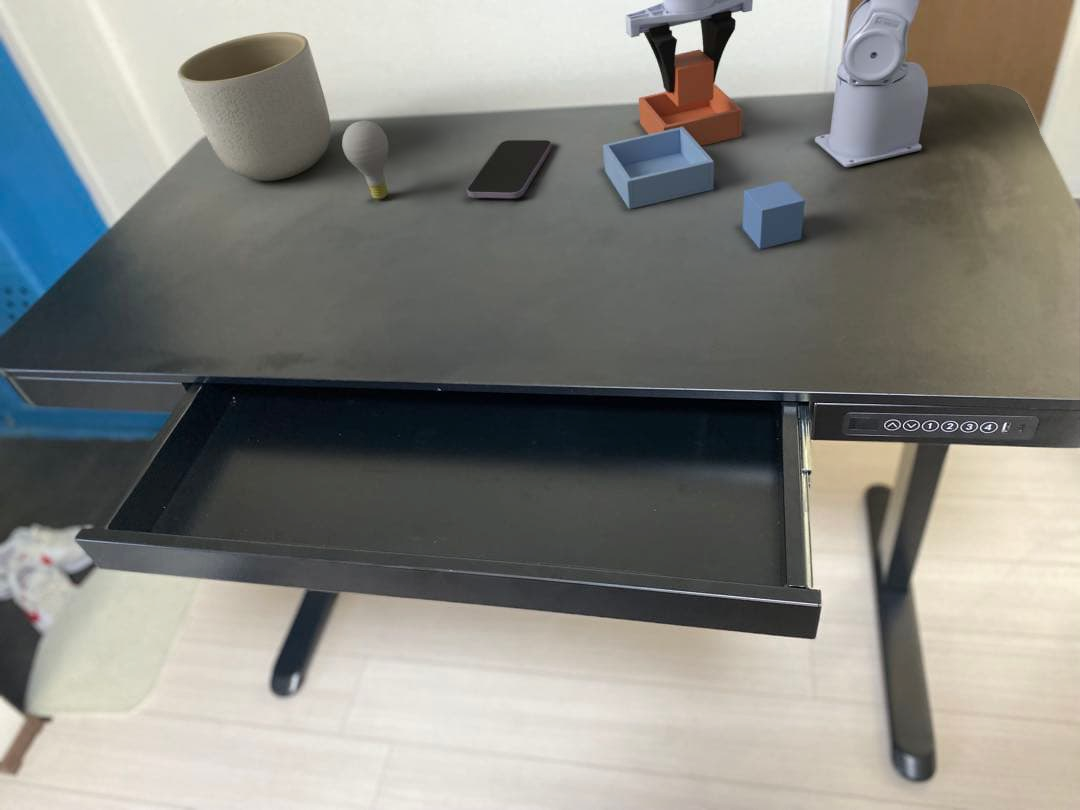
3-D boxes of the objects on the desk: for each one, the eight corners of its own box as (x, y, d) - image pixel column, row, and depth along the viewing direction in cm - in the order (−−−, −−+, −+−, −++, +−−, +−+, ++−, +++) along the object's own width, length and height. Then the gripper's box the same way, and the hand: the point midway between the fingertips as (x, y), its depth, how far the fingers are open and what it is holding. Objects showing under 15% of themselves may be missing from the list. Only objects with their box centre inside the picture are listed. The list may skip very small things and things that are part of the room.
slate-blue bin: (683, 153, 99) (683, 126, 97) (713, 189, 91) (714, 161, 89) (604, 171, 98) (602, 144, 96) (629, 209, 91) (627, 181, 88)
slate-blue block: (782, 218, 85) (785, 180, 82) (801, 239, 82) (805, 200, 79) (742, 228, 85) (744, 190, 82) (759, 249, 81) (762, 210, 78)
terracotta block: (699, 86, 98) (699, 48, 95) (713, 99, 95) (714, 61, 92) (665, 94, 98) (664, 57, 95) (677, 107, 95) (677, 69, 92)
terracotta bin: (711, 106, 108) (712, 81, 105) (741, 136, 100) (742, 109, 98) (639, 123, 107) (638, 97, 105) (664, 154, 99) (663, 127, 97)
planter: (304, 196, 104) (261, 81, 94) (200, 192, 110) (149, 82, 100) (363, 138, 116) (331, 29, 105) (267, 136, 121) (227, 33, 111)
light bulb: (410, 189, 102) (389, 114, 95) (387, 211, 98) (364, 134, 92) (375, 186, 104) (353, 111, 97) (352, 206, 101) (327, 131, 94)
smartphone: (553, 139, 105) (520, 193, 95) (554, 148, 106) (521, 201, 95) (502, 140, 107) (463, 192, 97) (503, 147, 108) (465, 200, 97)
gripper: (736, -61, 90) (733, 61, 99) (614, -34, 89) (622, 86, 98) (763, -47, 85) (756, 80, 94) (633, -19, 84) (639, 107, 93)
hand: (689, 85), depth 96 cm, fingers closed on terracotta block, 4 cm apart
